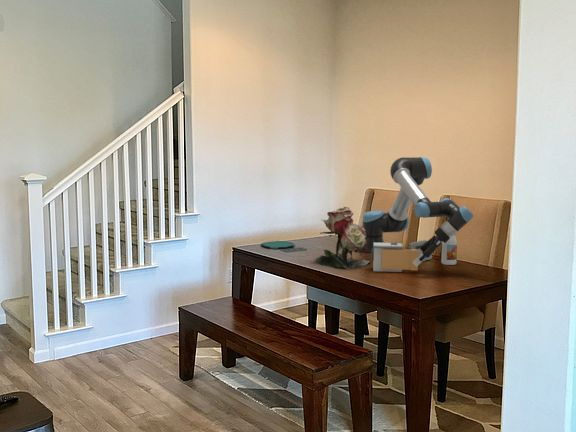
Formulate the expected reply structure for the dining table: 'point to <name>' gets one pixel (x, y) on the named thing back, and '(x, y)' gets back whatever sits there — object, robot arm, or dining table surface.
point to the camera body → (377, 255)
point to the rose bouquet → (344, 240)
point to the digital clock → (418, 247)
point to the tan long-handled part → (399, 259)
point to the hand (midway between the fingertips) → (413, 262)
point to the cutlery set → (281, 245)
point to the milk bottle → (449, 251)
